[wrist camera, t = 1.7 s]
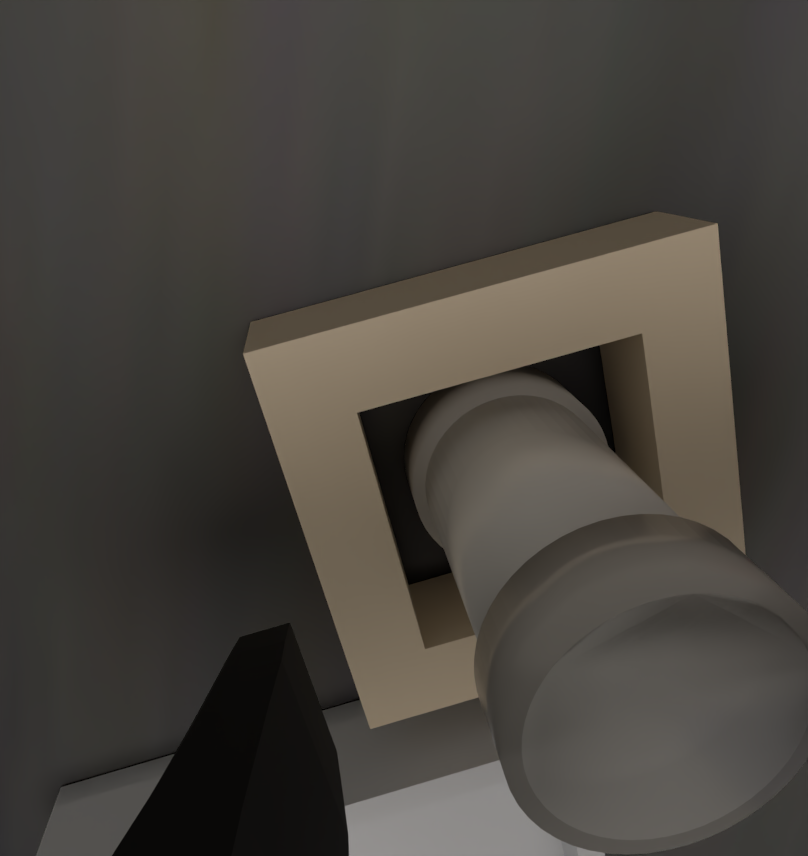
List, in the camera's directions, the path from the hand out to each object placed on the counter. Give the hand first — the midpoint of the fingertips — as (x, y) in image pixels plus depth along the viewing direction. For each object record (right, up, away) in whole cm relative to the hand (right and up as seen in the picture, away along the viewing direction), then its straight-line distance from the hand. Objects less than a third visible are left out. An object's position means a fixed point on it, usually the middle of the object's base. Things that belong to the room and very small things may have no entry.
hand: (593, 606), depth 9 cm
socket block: (-1, +2, +5) cm, 5 cm away
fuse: (-1, +2, +5) cm, 5 cm away
